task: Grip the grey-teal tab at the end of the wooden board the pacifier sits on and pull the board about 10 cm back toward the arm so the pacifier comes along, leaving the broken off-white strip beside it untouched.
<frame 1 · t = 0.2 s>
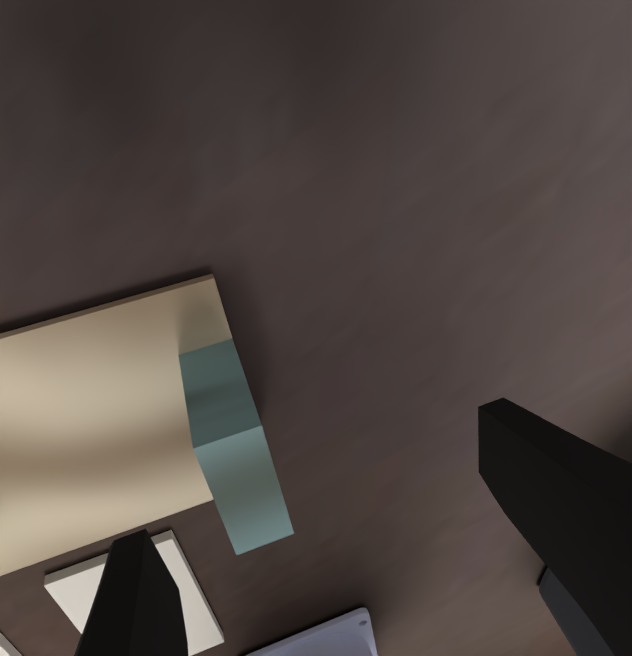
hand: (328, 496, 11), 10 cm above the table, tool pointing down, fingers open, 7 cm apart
broken strip: (54, 642, 25), on the table
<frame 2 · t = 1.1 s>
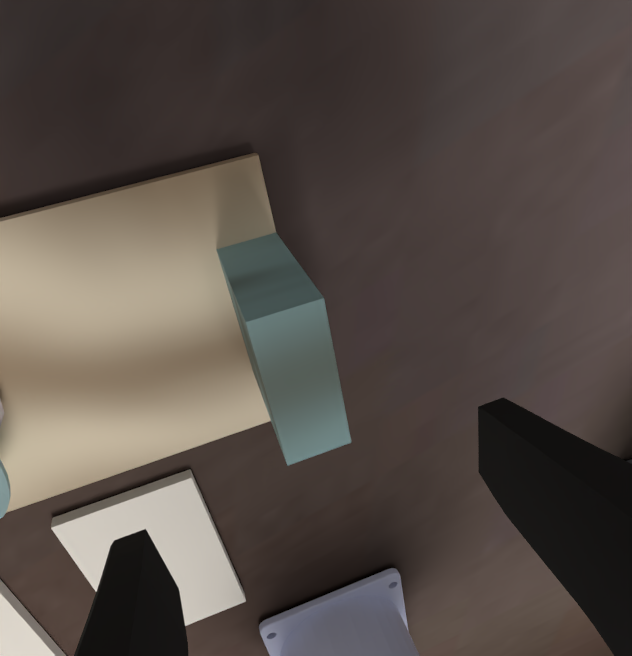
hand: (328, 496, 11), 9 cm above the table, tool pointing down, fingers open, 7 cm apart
broken strip: (62, 596, 23), on the table
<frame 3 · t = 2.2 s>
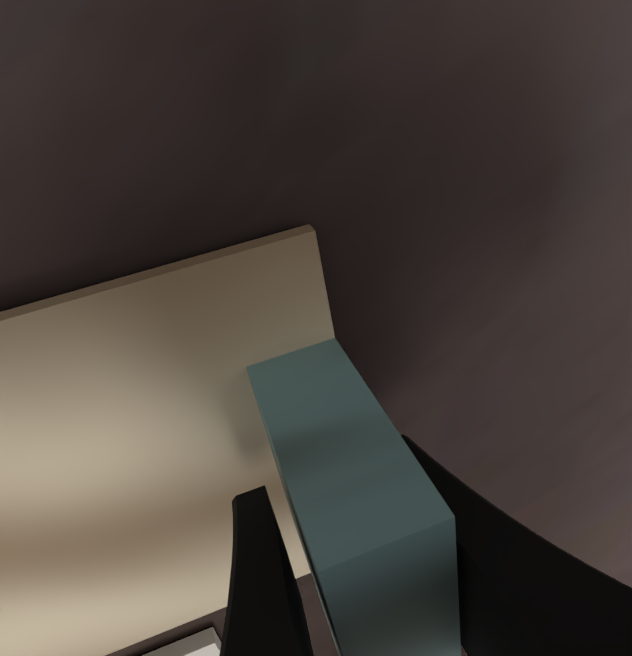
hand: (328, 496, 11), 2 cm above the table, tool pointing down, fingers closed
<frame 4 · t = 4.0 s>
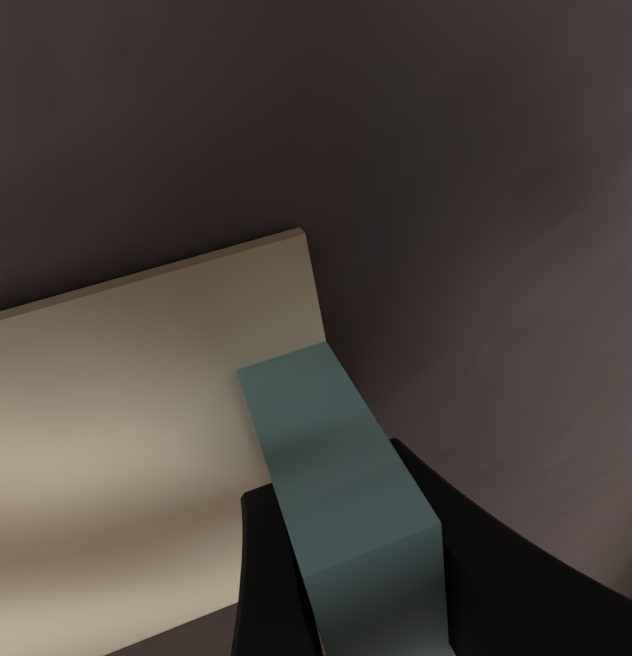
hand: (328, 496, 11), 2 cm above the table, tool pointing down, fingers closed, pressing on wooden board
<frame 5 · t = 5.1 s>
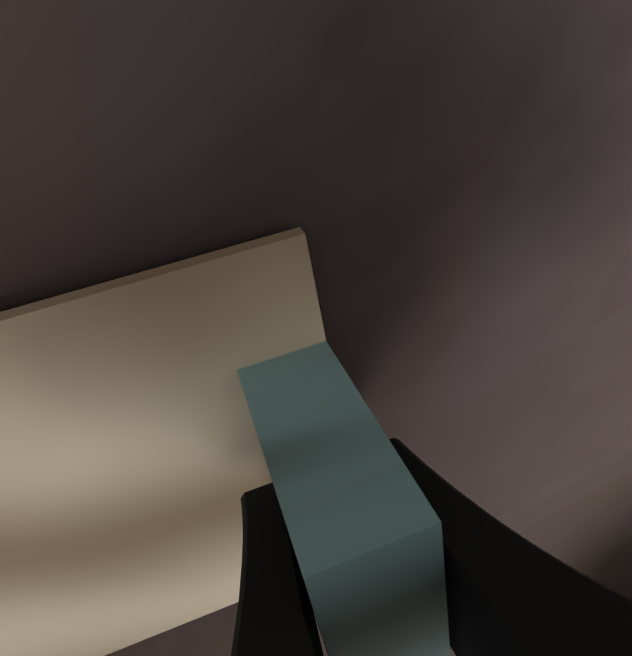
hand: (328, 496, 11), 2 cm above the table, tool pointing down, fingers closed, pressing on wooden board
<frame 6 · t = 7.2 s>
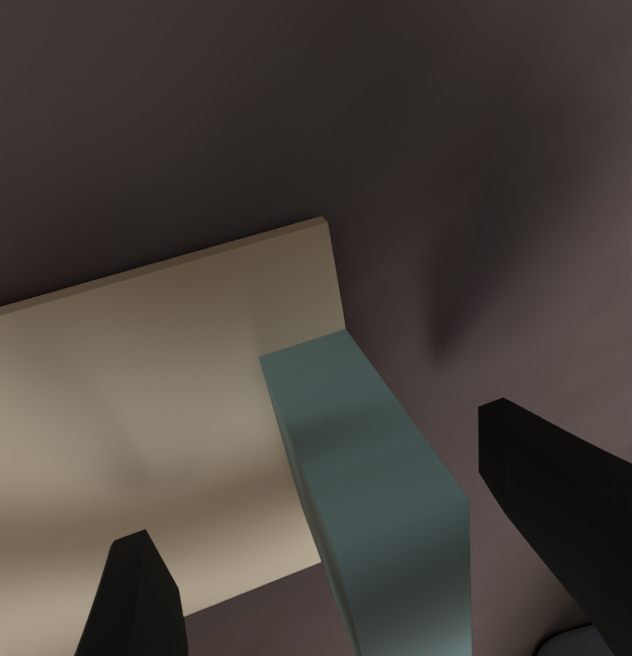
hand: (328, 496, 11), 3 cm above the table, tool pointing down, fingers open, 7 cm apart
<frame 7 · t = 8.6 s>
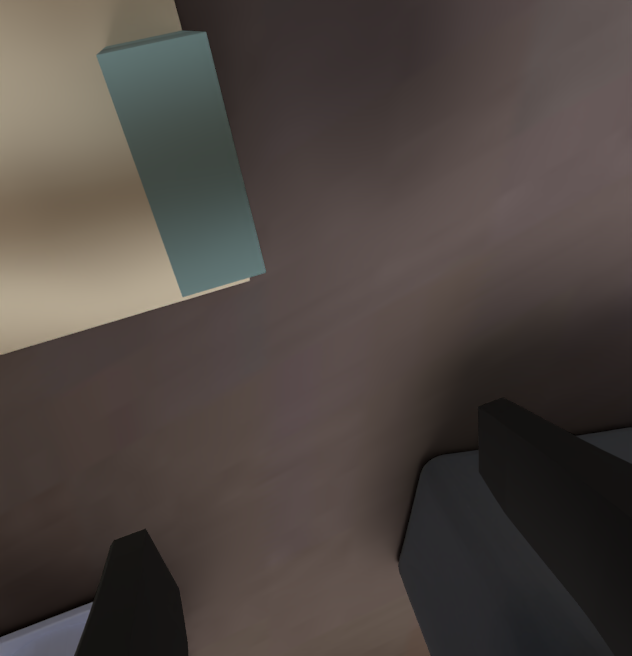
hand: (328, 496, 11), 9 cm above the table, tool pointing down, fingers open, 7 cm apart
storage bin: (533, 473, 30), on the table
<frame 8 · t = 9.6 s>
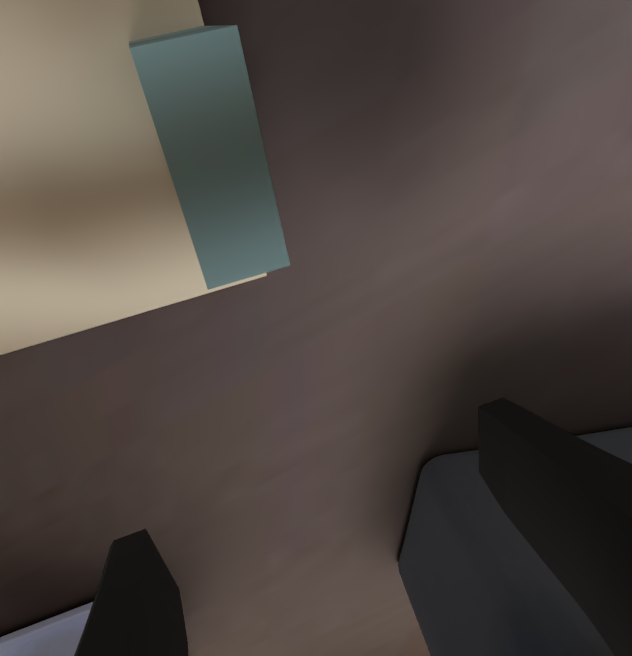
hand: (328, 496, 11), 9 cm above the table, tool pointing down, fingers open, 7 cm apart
storage bin: (533, 473, 30), on the table
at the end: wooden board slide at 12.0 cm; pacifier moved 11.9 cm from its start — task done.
